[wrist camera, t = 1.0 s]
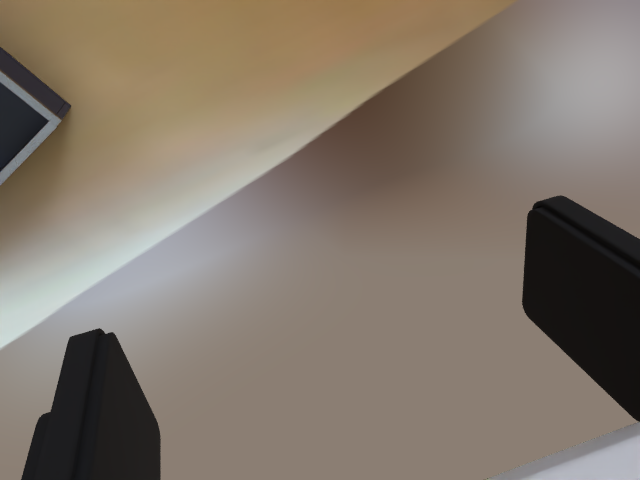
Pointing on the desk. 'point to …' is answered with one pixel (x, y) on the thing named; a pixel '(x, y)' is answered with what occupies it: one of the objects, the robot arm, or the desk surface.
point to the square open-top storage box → (24, 113)
